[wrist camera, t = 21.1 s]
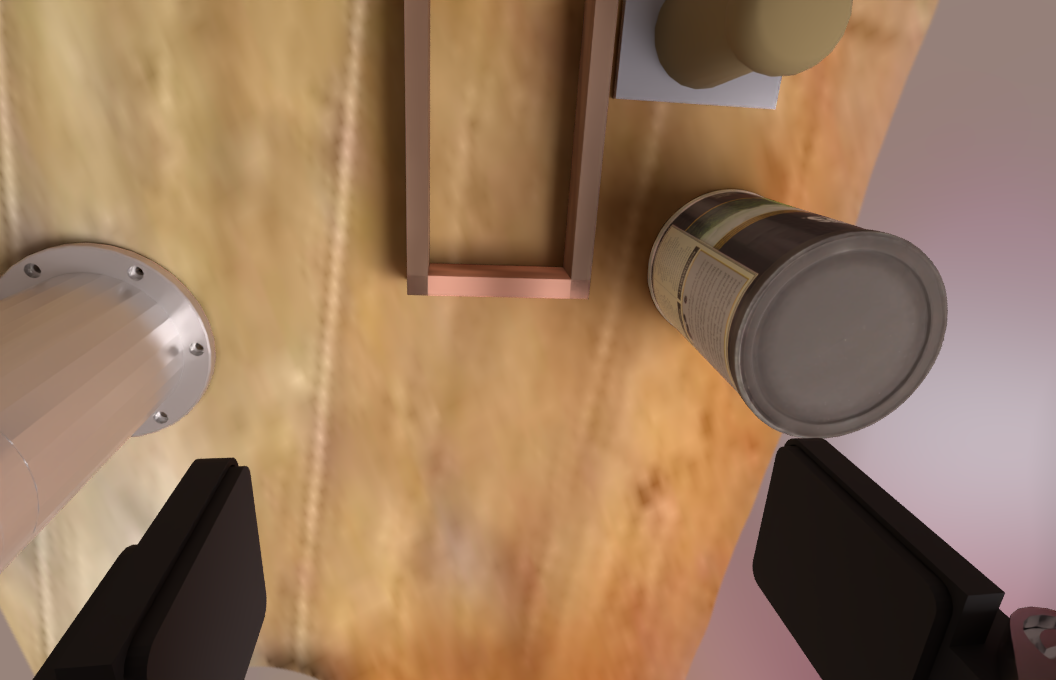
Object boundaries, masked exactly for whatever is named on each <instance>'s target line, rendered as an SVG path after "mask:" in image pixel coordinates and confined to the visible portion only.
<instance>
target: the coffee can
mask: <svg viewBox="0 0 1056 680" xmlns="http://www.w3.org/2000/svg"><path fill="white" fill-rule="evenodd" d="M648 285H649V289H650V293H651V296H652V299H653V301H654V303H655V305H656V308H657V309H658V310H659V312H660V313H661V314H662V316H663V317H664V318H665V319H666V320H667V321H668V322H669V323H670V324H672V325H673V326H674V327H675V328H676V329H677V330H678V331H679V332H680V333H681V334H682V335H683V336H684V337H685V338H686V339H687V340H688V341H689V342H690V343H691V344H692V345H693V346H694V347H695V348H696V349H697V350H698V351H699V353H700V354H701V355H702V356H703V357H704V358H705V359H706V360H707V361H708V362H709V363H710V364H711V365H712V366H713V367H714V368H715V369H716V370H717V371H718V372H719V373H720V374H721V375H722V376H723V377H724V378H725V379H726V381H727V382H728V383H729V384H730V385H731V386H732V387H733V388H734V389H735V390H736V391H737V392H738V393H739V394H740V396H741V398H742V399H743V401H744V402H745V403H746V405H747V406H748V407H749V408H750V409H751V411H752V412H753V413H754V414H755V415H756V416H757V417H758V418H759V419H760V420H761V421H763V422H764V423H765V424H767V425H768V426H770V427H771V428H773V429H775V430H777V431H779V432H782V433H785V434H787V435H790V436H795V437H800V438H831V437H838V436H842V435H846V434H849V433H852V432H855V431H858V430H860V429H863V428H865V427H868V426H870V425H872V424H874V423H876V422H878V421H879V420H881V419H883V418H884V417H886V416H887V415H889V414H890V413H891V412H893V411H894V410H896V409H897V408H898V407H899V406H900V405H901V404H902V403H904V402H905V401H906V400H907V399H908V398H909V397H910V395H912V393H913V392H914V391H915V390H916V389H917V388H918V386H919V385H920V384H921V383H922V381H923V380H924V379H925V377H926V376H927V374H928V373H929V371H930V370H931V368H932V366H933V365H934V363H935V360H936V358H937V356H938V354H939V352H940V349H941V347H942V342H943V340H944V334H945V331H946V326H947V311H948V310H947V297H946V291H945V286H944V283H943V281H942V278H941V276H940V274H939V272H938V270H937V268H936V267H935V266H934V264H933V262H932V261H931V260H930V259H929V258H928V257H927V256H926V254H924V253H923V252H922V251H921V250H920V249H919V248H918V247H916V246H915V245H913V244H912V243H911V242H909V241H907V240H905V239H903V238H900V237H897V236H895V235H892V234H889V233H885V232H880V231H874V230H868V229H863V228H860V227H857V226H854V225H851V224H848V223H844V222H842V221H838V220H835V219H831V218H828V217H825V216H821V215H818V214H815V213H811V212H808V211H805V210H802V209H798V208H795V207H792V206H789V205H786V204H782V203H779V202H776V201H774V200H770V199H767V198H764V197H762V196H760V195H758V194H756V193H753V192H749V191H744V190H736V189H727V190H718V191H713V192H710V193H707V194H704V195H702V196H699V197H697V198H695V199H693V200H692V201H690V202H688V203H687V204H685V205H684V206H683V207H682V208H680V209H679V210H678V211H677V212H676V213H675V214H674V215H673V216H672V217H671V218H670V219H669V220H668V221H667V222H666V224H665V225H664V226H663V228H662V229H661V231H660V232H659V234H658V236H657V238H656V240H655V242H654V245H653V247H652V250H651V254H650V258H649V264H648Z"/></svg>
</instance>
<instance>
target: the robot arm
mask: <svg viewBox="0 0 1056 680" xmlns="http://www.w3.org/2000/svg"><path fill="white" fill-rule="evenodd" d="M39 268H40V269H39ZM139 268H140V269H142V271H143V273H141V272H140V271H139ZM198 343H199V344H201V345H202V346H203V347H200V346H199V345H198ZM215 360H216V352H215V340H214V336H213V333H212V330H211V326H210V323H209V321H208V319H207V317H206V315H205V313H204V311H203V309H202V307H201V305H200V304H199V302H198V301H197V300H196V299H195V297H194V296H193V295H192V293H191V292H190V291H189V289H188V288H187V287H186V286H185V285H184V284H182V283H181V282H180V281H179V280H178V279H177V278H176V277H175V276H174V275H173V274H172V273H170V272H169V271H167V270H166V269H164V268H163V267H161V266H160V265H158V264H157V263H155V262H154V261H152V260H150V259H147V258H145V257H143V256H141V255H139V254H137V253H135V252H132V251H129V250H125V249H122V248H118V247H115V246H111V245H105V244H96V243H71V244H63V245H59V246H55V247H51V248H47V249H44V250H42V251H39V252H37V253H34V254H32V255H29V256H27V257H25V258H24V259H22V260H20V261H19V262H17V263H16V264H14V265H12V266H11V267H10V268H9V269H8V270H7V271H6V272H5V273H4V274H3V275H2V276H1V277H0V574H1V573H2V572H3V570H4V569H5V568H6V567H7V566H8V565H9V564H10V563H11V562H12V561H13V560H14V559H15V558H16V557H17V556H18V555H19V554H20V552H21V551H22V550H23V549H24V548H25V547H26V546H27V545H28V544H29V543H30V542H31V541H32V540H33V539H34V538H35V537H36V536H37V535H38V534H39V533H40V531H41V530H42V529H43V528H44V527H45V526H46V525H47V524H48V523H49V522H50V521H51V520H52V519H53V518H54V517H55V516H56V515H57V514H58V513H59V511H60V510H61V509H62V508H63V507H64V506H65V505H66V504H67V503H68V502H69V501H70V500H71V499H72V498H73V497H74V496H75V495H76V494H77V493H78V491H79V490H80V489H81V488H82V487H83V486H84V485H85V484H86V483H87V482H88V481H89V480H90V479H91V478H92V477H93V476H94V475H95V474H96V473H97V471H98V470H99V469H100V468H101V467H102V466H103V465H104V464H105V463H106V462H107V461H108V460H109V459H110V458H111V457H112V456H113V455H114V454H115V453H116V451H117V450H118V449H119V448H120V447H121V446H122V445H123V444H124V443H125V442H126V441H127V440H128V439H129V438H130V437H139V436H143V435H147V434H151V433H155V432H158V431H160V430H162V429H164V428H167V427H169V426H171V425H173V424H175V423H176V422H177V421H179V420H180V419H181V418H183V417H184V416H186V415H187V414H188V413H189V412H190V411H191V410H192V409H193V407H194V406H195V405H196V404H197V403H198V402H199V400H200V399H201V398H202V396H203V395H204V393H205V392H206V390H207V389H208V386H209V384H210V381H211V379H212V376H213V374H214V367H215ZM753 574H754V577H755V580H756V582H757V584H758V586H759V587H760V589H761V590H762V592H763V593H764V594H765V596H766V598H767V599H768V600H769V602H770V603H771V605H772V606H773V608H774V609H775V611H776V612H777V614H778V615H779V616H780V618H781V620H782V621H783V623H784V624H785V625H786V627H787V628H788V630H789V631H790V633H791V634H792V636H793V637H794V639H795V640H796V642H797V643H798V645H799V646H800V648H801V649H802V651H803V652H804V654H805V655H806V656H807V658H808V659H809V661H810V662H811V664H812V665H813V667H814V668H815V669H816V671H817V673H818V674H819V675H820V677H821V678H822V680H1056V611H1055V610H1052V609H1048V608H1040V607H1025V608H1019V609H1017V610H1016V611H1015V612H1013V613H1012V614H1011V616H1010V618H1009V617H1008V616H1007V615H1005V614H1004V613H1003V612H1002V611H1001V610H1000V609H999V607H1000V604H1001V601H1002V599H1003V597H1004V594H1005V592H1004V591H1002V590H1001V589H1000V588H999V587H998V586H996V585H995V584H994V583H993V582H992V581H991V580H989V579H988V578H987V577H986V576H985V575H984V574H982V573H981V572H980V571H979V570H978V569H976V568H975V567H974V566H973V565H972V564H971V563H969V562H968V561H967V560H966V559H965V558H964V557H962V556H961V555H960V554H959V553H958V552H957V551H955V550H954V549H953V548H952V547H951V546H949V545H948V544H947V543H946V542H945V541H944V540H942V539H941V538H940V537H939V536H938V535H937V534H935V533H934V532H933V531H932V530H931V529H929V528H928V527H927V526H926V525H925V524H924V523H922V522H921V521H920V520H919V519H918V518H916V517H915V516H914V515H913V514H912V513H911V512H910V511H908V510H907V509H906V508H905V507H904V506H902V505H901V504H900V503H899V502H897V500H895V499H894V498H893V497H892V496H891V495H890V494H888V493H887V492H886V491H885V490H884V489H882V488H881V487H880V486H879V485H878V484H877V483H875V482H874V481H873V480H872V479H871V478H870V477H868V476H867V475H866V474H865V473H864V472H862V471H861V470H860V469H859V468H858V467H857V466H855V465H854V464H853V463H852V462H851V461H850V460H848V459H847V458H846V457H845V456H844V455H842V454H841V453H840V452H839V451H838V450H837V449H835V448H834V447H833V446H832V445H831V444H829V443H828V442H827V441H826V440H824V439H823V438H795V439H790V440H788V441H787V442H786V444H785V446H784V447H781V448H779V450H778V451H777V454H776V458H775V462H774V467H773V472H772V476H771V481H770V485H769V491H768V495H767V499H766V504H765V508H764V513H763V518H762V522H761V527H760V531H759V536H758V541H757V545H756V550H755V554H754V559H753ZM265 612H266V589H265V581H264V574H263V566H262V558H261V551H260V543H259V535H258V528H257V520H256V512H255V505H254V497H253V490H252V482H251V475H250V470H249V468H248V467H247V466H238V463H237V461H236V459H235V458H210V459H196V460H195V461H194V462H193V463H192V464H191V466H190V467H189V469H188V470H187V472H186V473H185V475H184V476H183V478H182V479H181V481H180V482H179V484H178V485H177V487H176V488H175V490H174V491H173V493H172V494H171V496H170V497H169V499H168V500H167V502H166V503H165V505H164V506H163V508H162V509H161V511H160V512H159V513H158V515H157V516H156V518H155V519H154V521H153V522H152V524H151V525H150V527H149V528H148V530H147V531H146V533H145V534H144V536H143V537H142V539H141V540H140V542H139V543H138V545H131V546H129V547H127V548H126V549H125V550H124V551H123V552H122V553H121V554H120V555H119V556H118V558H117V559H116V561H115V562H114V564H113V565H112V567H111V568H110V569H109V571H108V572H107V574H106V575H105V577H104V578H103V579H102V581H101V582H100V584H99V585H98V587H97V588H96V589H95V591H94V592H93V594H92V595H91V597H90V598H89V600H88V601H87V602H86V604H85V605H84V607H83V608H82V610H81V611H80V612H79V614H78V615H77V617H76V618H75V620H74V621H73V622H72V624H71V625H70V627H69V628H68V630H67V631H66V633H65V634H64V635H63V637H62V638H61V640H60V641H59V643H58V644H57V645H56V647H55V648H54V650H53V651H52V653H51V654H50V655H49V657H48V658H47V660H46V661H45V663H44V664H43V666H42V667H41V668H40V670H39V671H38V673H37V674H36V676H35V677H34V678H33V680H244V678H245V675H246V672H247V669H248V666H249V663H250V660H251V657H252V654H253V651H254V648H255V645H256V642H257V639H258V636H259V633H260V630H261V627H262V624H263V621H264V617H265Z"/></svg>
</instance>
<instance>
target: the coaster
mask: <svg viewBox="0 0 1056 680" xmlns="http://www.w3.org/2000/svg"><path fill="white" fill-rule="evenodd" d="M664 2H665V0H623V8H622V18H621V28H620V37H619V47H618V57H617V67H616V76H615V86H614V96H613V99H628V100H643V101H658V102H673V103H688V104H702V105H717V106H732V107H747V108H762V109H776V104H777V99H778V94H779V88H780V83H781V78H782V76H778V77H770V76H766V75H763V74H759V73H756V72H754V71H753V72H751V73H748V74H746V75H743V76H741V77H738V78H736V79H733V80H731V81H728V82H726V83H723V84H721V85H718V86H716V87H713V88H707V89H693V88H689V87H686V86H682V85H680V84H679V83H678V82H676V81H675V80H674V79H672V78H671V77H670V76H669V75H668V74H667V73H666V71H665V70H664V68H663V67H662V65H661V64H660V62H659V58H658V55H657V51H656V48H655V25H656V22H657V18H658V15H659V11H660V8H661V7H662V5H663V3H664Z"/></svg>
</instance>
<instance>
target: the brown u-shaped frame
mask: <svg viewBox="0 0 1056 680" xmlns="http://www.w3.org/2000/svg"><path fill="white" fill-rule="evenodd" d="M618 1H619V0H585V6H584V18H583V30H582V42H581V54H580V66H579V78H578V91H577V103H576V115H575V127H574V139H573V151H572V163H571V175H570V187H569V199H568V211H567V223H566V235H565V247H564V259H563V267H538V266H505V265H472V264H438V263H429V258H430V0H404V34H405V126H406V219H407V295H435V296H478V297H521V298H564V299H589V290H590V280H591V270H592V260H593V250H594V241H595V231H596V221H597V211H598V201H599V191H600V181H601V171H602V161H603V151H604V141H605V131H606V121H607V111H608V101H609V91H610V81H611V71H612V61H613V51H614V41H615V31H616V21H617V11H618Z"/></svg>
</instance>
